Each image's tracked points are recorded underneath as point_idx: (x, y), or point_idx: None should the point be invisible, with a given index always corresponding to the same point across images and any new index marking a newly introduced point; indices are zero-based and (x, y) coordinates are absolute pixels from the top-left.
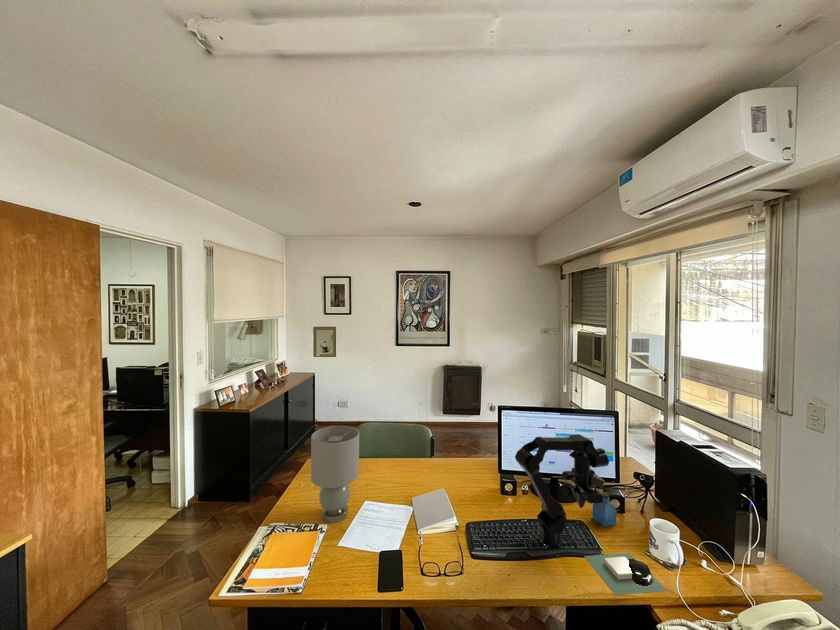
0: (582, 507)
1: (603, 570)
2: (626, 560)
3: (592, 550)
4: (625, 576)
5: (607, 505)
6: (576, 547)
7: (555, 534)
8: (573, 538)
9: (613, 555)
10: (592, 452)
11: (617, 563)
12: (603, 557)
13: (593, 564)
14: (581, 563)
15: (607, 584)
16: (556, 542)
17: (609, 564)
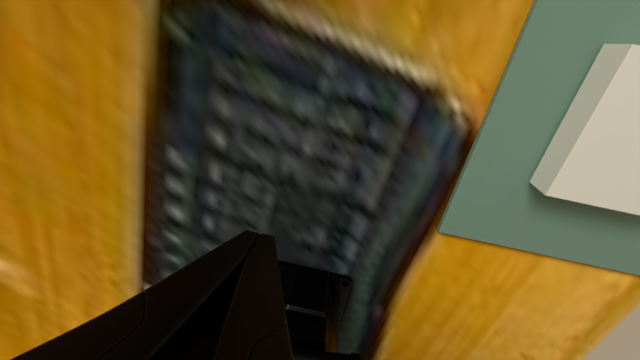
0: (273, 241)
1: (553, 219)
2: None
3: (421, 150)
4: None
5: None
6: (370, 212)
7: (336, 352)
8: (310, 177)
9: (521, 68)
10: None
11: (625, 157)
12: (497, 145)
13: (499, 231)
14: (459, 264)
15: (613, 267)
16: (337, 306)
17: (591, 203)
